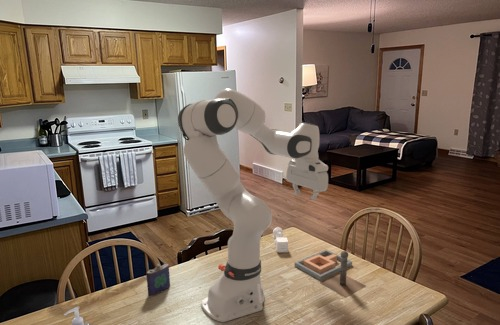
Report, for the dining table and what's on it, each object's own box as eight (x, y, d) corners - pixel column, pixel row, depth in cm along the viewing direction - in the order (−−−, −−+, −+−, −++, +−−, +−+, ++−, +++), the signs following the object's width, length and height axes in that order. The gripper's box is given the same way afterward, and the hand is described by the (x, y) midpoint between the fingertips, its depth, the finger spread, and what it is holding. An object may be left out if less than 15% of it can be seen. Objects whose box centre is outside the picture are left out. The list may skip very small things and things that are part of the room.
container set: (288, 253, 164) (288, 241, 163) (276, 253, 164) (276, 242, 162) (282, 234, 183) (282, 224, 182) (272, 235, 183) (272, 224, 182)
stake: (345, 300, 128) (347, 262, 125) (319, 285, 137) (320, 249, 134) (366, 288, 135) (368, 252, 132) (340, 275, 144) (342, 241, 141)
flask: (167, 284, 139) (166, 258, 137) (172, 287, 137) (170, 261, 135) (146, 294, 132) (144, 267, 130) (151, 297, 130) (148, 270, 128)
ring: (320, 276, 142) (320, 269, 141) (303, 267, 149) (303, 260, 148) (343, 265, 150) (343, 258, 150) (326, 257, 157) (326, 250, 157)
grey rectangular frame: (320, 283, 139) (320, 276, 138) (294, 268, 150) (294, 262, 149) (351, 267, 150) (352, 261, 149) (325, 255, 161) (325, 249, 160)
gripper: (283, 159, 151) (282, 192, 154) (320, 169, 135) (318, 204, 138) (294, 158, 155) (293, 189, 158) (331, 167, 139) (329, 202, 142)
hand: (305, 197), depth 148 cm, fingers open, 8 cm apart
